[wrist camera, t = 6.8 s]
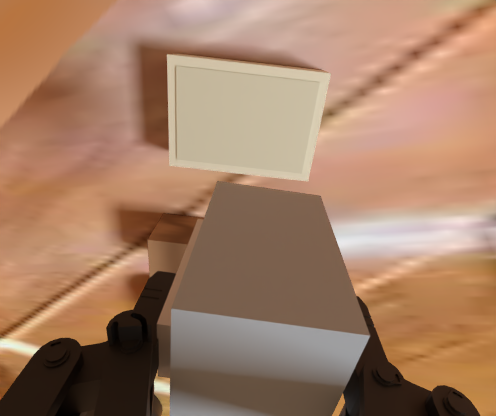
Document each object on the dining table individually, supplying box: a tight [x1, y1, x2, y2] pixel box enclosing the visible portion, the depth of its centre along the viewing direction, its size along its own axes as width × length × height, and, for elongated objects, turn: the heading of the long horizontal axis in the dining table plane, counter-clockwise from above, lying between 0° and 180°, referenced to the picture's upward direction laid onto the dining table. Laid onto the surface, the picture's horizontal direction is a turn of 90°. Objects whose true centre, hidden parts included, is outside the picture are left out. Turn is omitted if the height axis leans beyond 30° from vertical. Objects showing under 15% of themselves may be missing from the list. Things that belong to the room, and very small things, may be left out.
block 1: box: [148, 213, 204, 277], centre depth 36 cm, size 6×6×6 cm
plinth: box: [167, 54, 331, 181], centre depth 30 cm, size 14×10×4 cm
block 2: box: [170, 181, 370, 416], centre depth 13 cm, size 5×7×8 cm
